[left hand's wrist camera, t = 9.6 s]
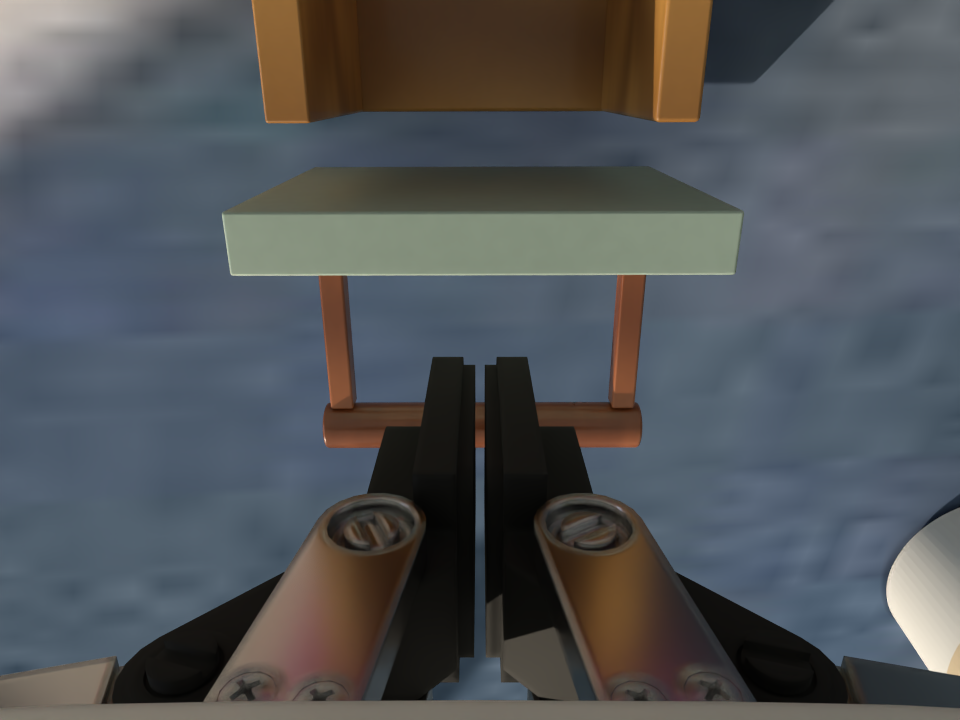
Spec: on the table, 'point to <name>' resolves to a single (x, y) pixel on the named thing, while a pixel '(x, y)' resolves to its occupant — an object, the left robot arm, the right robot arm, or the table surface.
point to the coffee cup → (930, 593)
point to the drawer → (482, 171)
